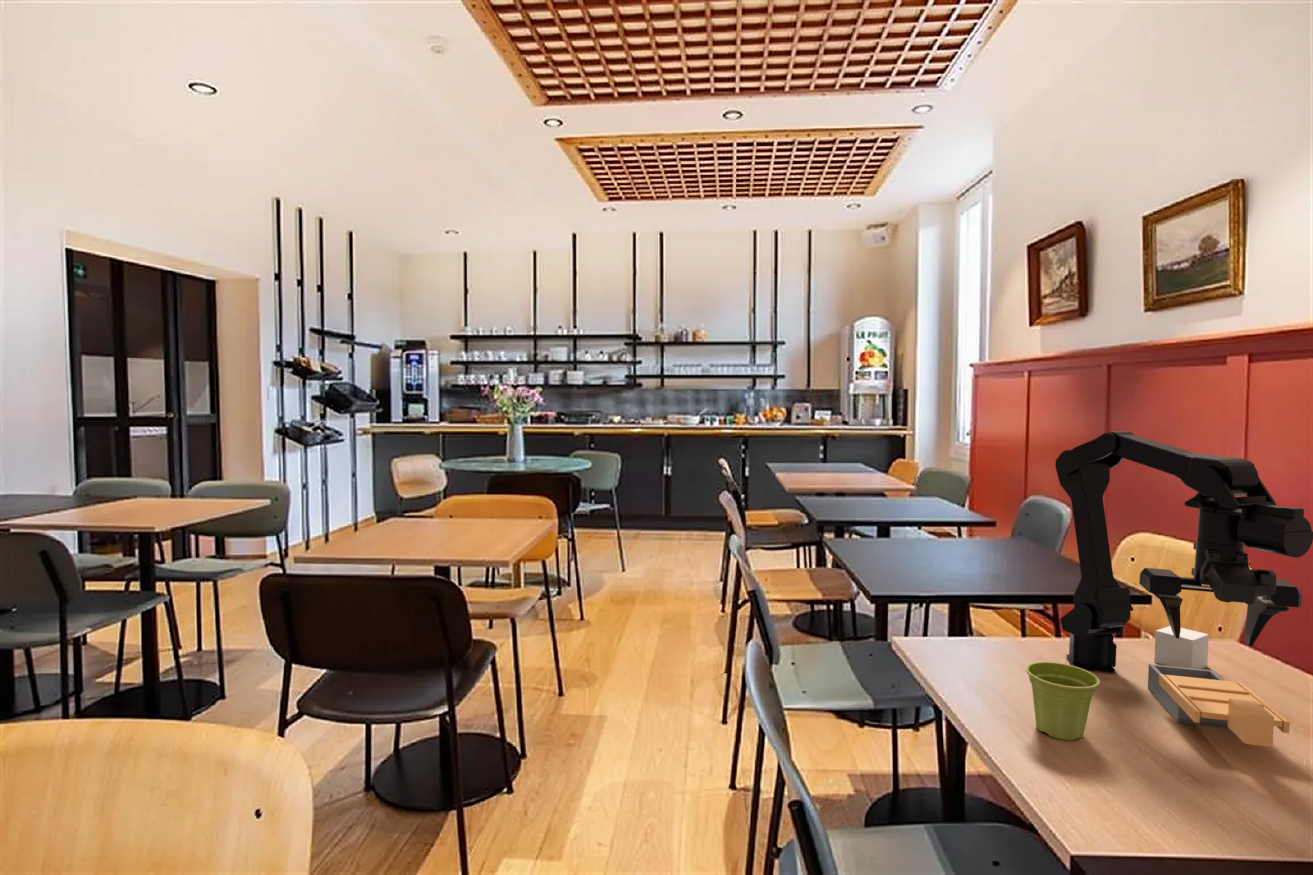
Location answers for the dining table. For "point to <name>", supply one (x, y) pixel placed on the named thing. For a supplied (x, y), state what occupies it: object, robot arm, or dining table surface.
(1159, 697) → the tub
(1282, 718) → the lid
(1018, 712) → the dining table surface
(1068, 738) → the plant pot
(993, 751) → the dining table surface
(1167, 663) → the white cube
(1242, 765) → the dining table surface
